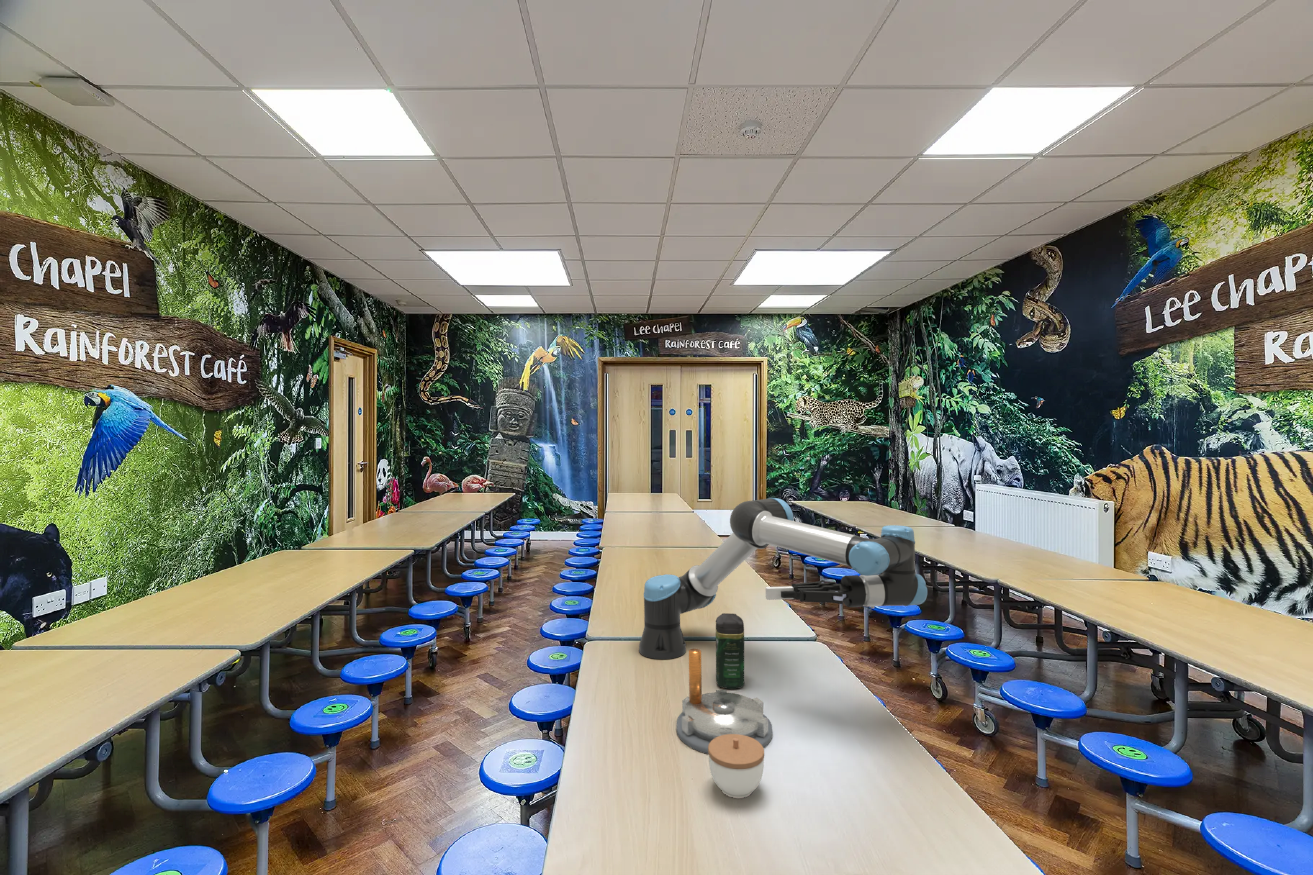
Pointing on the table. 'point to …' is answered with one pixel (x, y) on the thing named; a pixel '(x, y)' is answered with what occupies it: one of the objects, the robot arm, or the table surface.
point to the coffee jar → (729, 651)
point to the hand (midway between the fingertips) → (766, 593)
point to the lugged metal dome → (719, 709)
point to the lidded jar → (736, 764)
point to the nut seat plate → (703, 744)
